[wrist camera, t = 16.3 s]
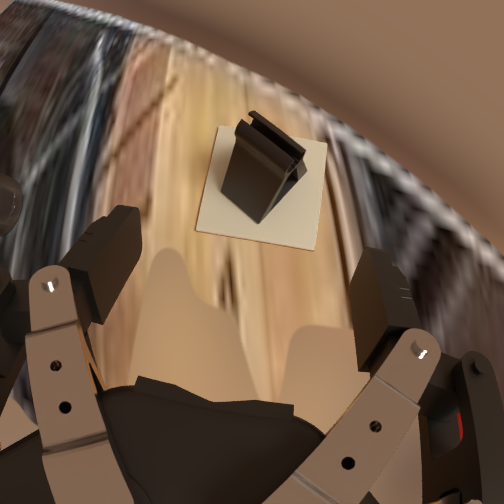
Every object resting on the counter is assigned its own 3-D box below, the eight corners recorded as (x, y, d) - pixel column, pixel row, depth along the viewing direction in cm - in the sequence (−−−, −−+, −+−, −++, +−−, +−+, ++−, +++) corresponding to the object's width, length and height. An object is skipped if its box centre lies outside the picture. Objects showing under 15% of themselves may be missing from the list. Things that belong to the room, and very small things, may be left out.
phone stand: (270, 142, 39) (278, 86, 27) (307, 172, 39) (329, 124, 27) (220, 192, 38) (209, 148, 27) (258, 224, 38) (262, 193, 26)
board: (196, 231, 38) (195, 230, 38) (219, 127, 40) (219, 125, 40) (313, 251, 38) (314, 250, 38) (326, 145, 40) (327, 143, 39)
